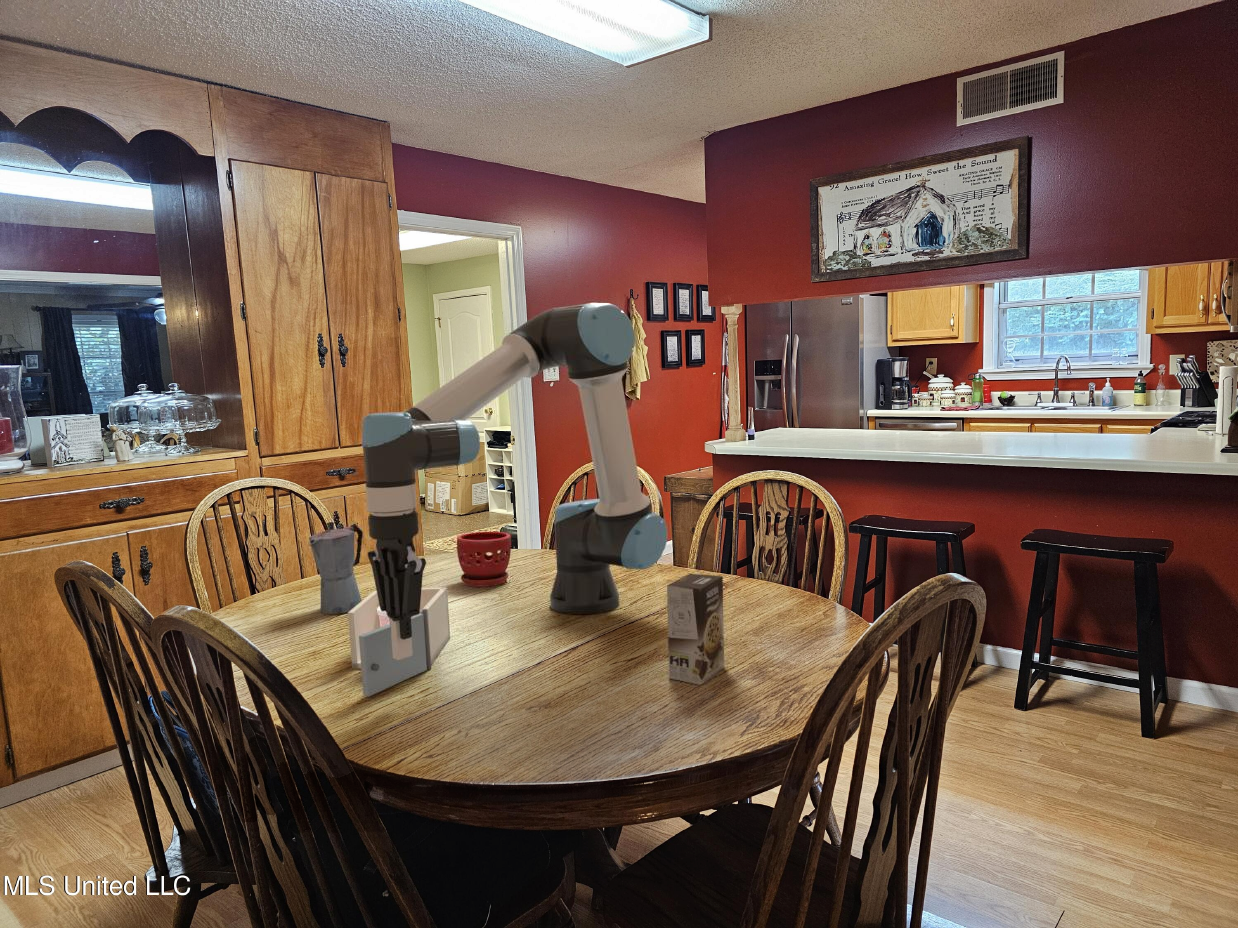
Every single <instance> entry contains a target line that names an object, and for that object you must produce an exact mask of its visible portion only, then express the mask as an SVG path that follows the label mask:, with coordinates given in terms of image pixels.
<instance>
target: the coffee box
mask: <svg viewBox="0 0 1238 928" xmlns="http://www.w3.org/2000/svg"><path fill="white" fill-rule="evenodd" d="M723 585H724V576H721V575H714V574H713V575H712V574H711V575H710V574H704V573H703V574H700V573H699V574H697V573H689V574H687V575H685V576H683V577H681V578H679V579H676V580H675V581H672V582H670V583H669V584H667V585H666V586H667V590H666V593H667V600H666V602H667V644H668V646H667V649H668V650H667V651H668V679H671V680H674V681H681V682H685V683H689V684H694V685H698V686H701V685H703V684H704V683H707V681H708V680H710V679H711V678H712V677H713V676H715V675H716V674H718V673H719V672H720V671H721V670H723V669H724V668H725V638H724V637H725V634H724V632H725V631H724V586H723Z"/></svg>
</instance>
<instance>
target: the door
mask: <svg viewBox="0 0 1238 928" xmlns="http://www.w3.org/2000/svg"><path fill="white" fill-rule="evenodd" d="M390 629H391V628H390V624H389V625H386V626H384V627H381V628H378V629H376V630H373V631H370V632H368V633H365V634H362V635H360V636H359V646H360V659H361V669H360V670H361V681H362V683H361V684H362V695H363V696H364V697H368V698H369V697H372V696H373V695H376V694H378V693H379V692H382V691H384V690H387V689H388V688H391V687H392V686H393V687H394V686H395V685H397V684H399V683H401V682H404V681H407V680H408V679H410V678H412V677H414V676H417V675H419V674H421V673H424V672H425V671H428V670H427V663H426V648H425V632H424V617H423V614H418V615H415V616H412V617H411V629H412V652H413V655H412V656H409V657H406V658H403V659H400V660H396V659H394V658H393V652H392V638H391V630H390Z"/></svg>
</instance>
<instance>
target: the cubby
mask: <svg viewBox="0 0 1238 928" xmlns="http://www.w3.org/2000/svg"><path fill="white" fill-rule="evenodd" d="M361 600H362V601H361V602H360V603H359V604H358V605H356V606H355V607H354V608H353V609H352V610H350V611H349V612H347V616H348V617H347V619H348V620H347V622H348V630H349V631H348V632H349V643H350V644H349V645H350V646H349V647H350V657H351V668H352V669H353V670H354V669H355V670H359V669H360V670H361V659H360V646H359V636H360V635H362V634H365V633H368V632H370V631H373V630H376V629H378V628H381V627H380V620H379V615H378V614H377V607H379V606H380V605H379V600H378V595H377V590H376V589H374V590H373V591H372V592H371V593H369V595H368V596H366V597H364V599H361ZM419 614H423V617H424V632H425V648H426V663H427V670H426V671H431V670H432V665H433V664H434V662H435V661H436V659H437V658H438V656H439V655H440V654H441V652H443V650H444V648H445V647H446V646H447V644H448V642H449V641H450V640H451V631H450V627H451V626H450V614H449V597H448V587H422V589H421V601H420V613H419ZM352 669H351V670H352Z"/></svg>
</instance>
